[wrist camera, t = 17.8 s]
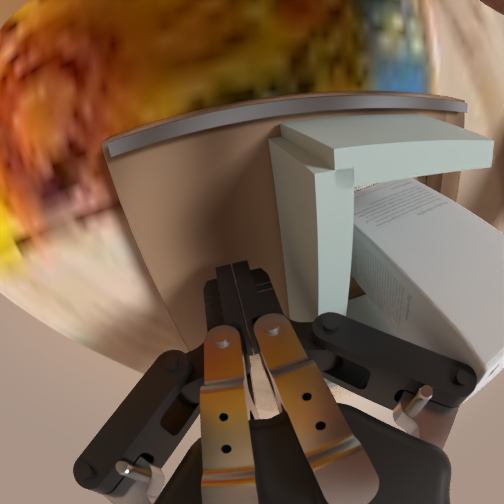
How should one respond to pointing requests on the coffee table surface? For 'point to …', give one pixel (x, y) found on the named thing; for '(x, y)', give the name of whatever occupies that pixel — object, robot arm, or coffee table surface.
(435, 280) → the skincare box
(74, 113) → the coffee table surface
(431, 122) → the bracket
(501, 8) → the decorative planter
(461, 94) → the coffee table surface
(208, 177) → the board
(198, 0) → the coffee table surface
